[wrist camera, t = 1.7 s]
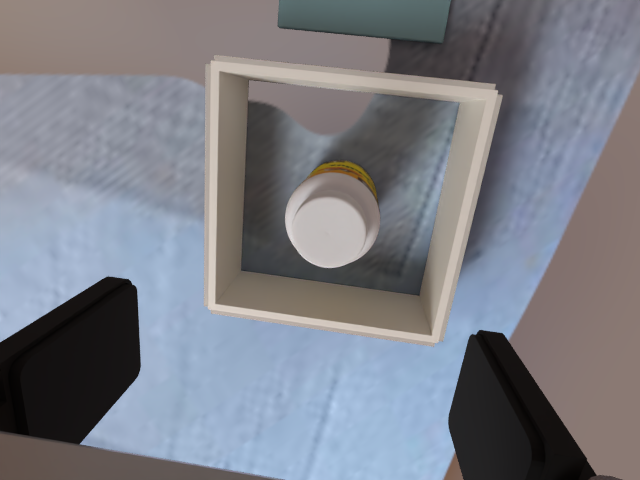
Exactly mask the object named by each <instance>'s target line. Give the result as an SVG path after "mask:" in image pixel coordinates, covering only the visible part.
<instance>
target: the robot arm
mask: <svg viewBox="0 0 640 480" xmlns="http://www.w3.org/2000/svg"><path fill="white" fill-rule="evenodd" d="M140 367H141V362H140V341H139V320H138V299H137V288H136V286H134V285H132V283H131V281H130V280H129V279H122V278H115V277H106V278H104V279H102V280H101V281H99V282H97V283H96V284H94V285H92V286H91V287H89V288H88V289H86V290H84V291H83V292H81V293H80V294H78V295H76V296H75V297H73V298H71V299H70V300H68V301H67V302H65V303H63V304H62V305H60V306H59V307H57V308H55V309H54V310H52V311H50V312H49V313H47V314H46V315H44V316H42V317H41V318H39V319H37V320H36V321H34V322H33V323H31V324H29V325H28V326H26V327H25V328H23V329H21V330H20V331H18V332H16V333H15V334H13V335H12V336H10V337H8V338H7V339H5V340H4V341H2V342H0V480H284V479H278V478H272V477H267V476H261V475H255V474H249V473H244V472H238V471H232V470H227V469H221V468H215V467H209V466H204V465H198V464H192V463H186V462H180V461H175V460H169V459H163V458H157V457H151V456H145V455H139V454H133V453H127V452H121V451H115V450H110V449H104V448H98V447H92V446H86V445H80V443H81V442H82V441H83V439H84V438H85V437H86V436H87V435H88V434H89V433H90V431H91V430H92V429H93V428H94V427H95V426H96V424H97V423H98V422H99V421H100V420H101V419H102V418H103V416H104V415H105V414H106V413H107V412H108V411H109V409H110V408H111V407H112V406H113V405H114V404H115V403H116V401H117V400H118V399H119V398H120V397H121V396H122V394H123V393H124V392H125V391H126V390H127V389H128V388H129V386H130V385H131V384H132V383H133V382H134V381H135V379H136V378H137V376H138V374H139V372H140ZM448 424H449V430H450V434H451V437H452V441H453V444H454V448H455V451H456V455H457V458H458V462H459V465H460V469H461V472H462V476H463V479H464V480H622V479H618V478H615V477H612V476H604V475H598V476H597V475H596V474H595V472H594V471H593V469H592V468H591V466H590V465H589V463H588V462H587V458H586V457H585V455H584V454H583V452H582V451H581V449H580V448H579V446H578V445H577V443H576V442H575V440H574V439H573V437H572V436H571V434H570V433H569V431H568V430H567V428H566V427H565V425H564V424H563V422H562V421H561V419H560V418H559V416H558V415H557V413H556V412H555V410H554V409H553V407H552V406H551V404H550V403H549V401H548V400H547V398H546V397H545V395H544V394H543V392H542V391H541V389H540V388H539V386H538V385H537V383H536V382H535V380H534V379H533V377H532V376H531V374H530V373H529V371H528V370H527V368H526V367H525V365H524V364H523V362H522V361H521V359H520V358H519V356H518V355H517V354H516V352H515V351H514V349H513V347H512V346H511V344H510V343H509V341H508V340H507V338H506V337H505V335H504V334H503V333H497V332H490V331H483V330H479V331H478V332H477V334H476V335H474V334H472V335H471V336H470V337H469V340H468V344H467V348H466V352H465V355H464V359H463V363H462V367H461V371H460V375H459V378H458V382H457V386H456V390H455V394H454V398H453V401H452V405H451V409H450V413H449V420H448Z"/></svg>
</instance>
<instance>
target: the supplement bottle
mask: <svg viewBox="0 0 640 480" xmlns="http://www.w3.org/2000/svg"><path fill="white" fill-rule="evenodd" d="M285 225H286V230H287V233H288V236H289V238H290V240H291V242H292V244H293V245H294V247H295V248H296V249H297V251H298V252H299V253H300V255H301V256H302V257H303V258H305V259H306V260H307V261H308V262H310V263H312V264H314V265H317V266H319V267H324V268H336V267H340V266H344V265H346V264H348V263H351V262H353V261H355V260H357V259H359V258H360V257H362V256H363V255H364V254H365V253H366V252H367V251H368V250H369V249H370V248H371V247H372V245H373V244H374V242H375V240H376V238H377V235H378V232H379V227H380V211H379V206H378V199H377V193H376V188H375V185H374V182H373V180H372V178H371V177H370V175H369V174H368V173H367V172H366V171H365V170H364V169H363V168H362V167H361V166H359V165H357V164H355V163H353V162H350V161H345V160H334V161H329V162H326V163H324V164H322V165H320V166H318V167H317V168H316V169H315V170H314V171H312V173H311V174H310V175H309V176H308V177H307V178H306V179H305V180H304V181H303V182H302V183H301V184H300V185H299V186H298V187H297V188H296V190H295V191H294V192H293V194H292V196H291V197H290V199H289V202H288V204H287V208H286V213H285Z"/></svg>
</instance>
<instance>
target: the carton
mask: <svg viewBox="0 0 640 480" xmlns="http://www.w3.org/2000/svg"><path fill="white" fill-rule="evenodd" d="M249 80H254V81H264V82H273V83H282V84H292V85H301V86H311V87H320V88H329V89H339V90H349V91H357V92H368V93H376V94H385V95H395V96H404V97H413V98H423V99H432V100H442V101H451V102H460V105H459V109H458V114H457V119H456V124H455V128H454V133H453V138H452V143H451V147H450V152H449V157H448V162H447V166H446V171H445V176H444V181H443V185H442V190H441V195H440V200H439V204H438V209H437V214H436V219H435V223H434V228H433V233H432V238H431V242H430V247H429V252H428V257H427V261H426V266H425V271H424V276H423V280H422V285H421V290H420V295H419V296H418V295H411V294H404V293H397V292H390V291H382V290H375V289H368V288H361V287H354V286H347V285H340V284H333V283H326V282H319V281H312V280H304V279H297V278H290V277H283V276H276V275H269V274H262V273H255V272H248V271H241V259H242V235H243V210H244V185H245V161H246V136H247V112H248V87H249V86H248V85H249ZM495 86H496V84H490V83H480V82H471V81H461V80H451V79H442V78H432V77H422V76H412V75H403V74H393V73H383V72H374V71H363V70H354V69H344V68H335V67H324V66H315V65H306V64H305V65H304V64H296V63H286V62H276V61H266V60H256V59H247V58H237V57H228V56H218V55H214V61H211V64H206V89H205V239H204V306H207V307H208V309H210V310H211V313H212V314H219V315H225V316H232V317H239V318H245V319H252V320H259V321H265V322H272V323H279V324H286V325H292V326H299V327H306V328H312V329H319V330H326V331H332V332H339V333H346V334H352V335H359V336H366V337H373V338H379V339H386V340H393V341H399V342H406V343H413V344H419V345H426V346H433V347H434V344H435V343H438V341H443V339H444V335H445V331H446V327H447V323H448V319H449V315H450V311H451V306H452V302H453V298H454V294H455V290H456V286H457V282H458V278H459V274H460V270H461V265H462V261H463V257H464V253H465V249H466V245H467V241H468V237H469V233H470V228H471V224H472V220H473V216H474V212H475V208H476V204H477V200H478V196H479V192H480V187H481V183H482V179H483V175H484V171H485V167H486V163H487V159H488V155H489V150H490V146H491V142H492V138H493V134H494V130H495V126H496V122H497V118H498V114H499V109H500V105H501V101H502V97H503V95H498V90H495Z"/></svg>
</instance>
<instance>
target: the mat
mask: <svg viewBox="0 0 640 480" xmlns="http://www.w3.org/2000/svg"><path fill="white" fill-rule="evenodd" d="M450 3H451V0H279V12H278V27H279V28H284V29H294V30H305V31H315V32H325V33H335V34H345V35H356V36H366V37H376V38H387V39H397V40H407V41H418V42H428V43H438V44H442V43H443V40H444V35H445V29H446V24H447V19H448V13H449V8H450Z"/></svg>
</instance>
